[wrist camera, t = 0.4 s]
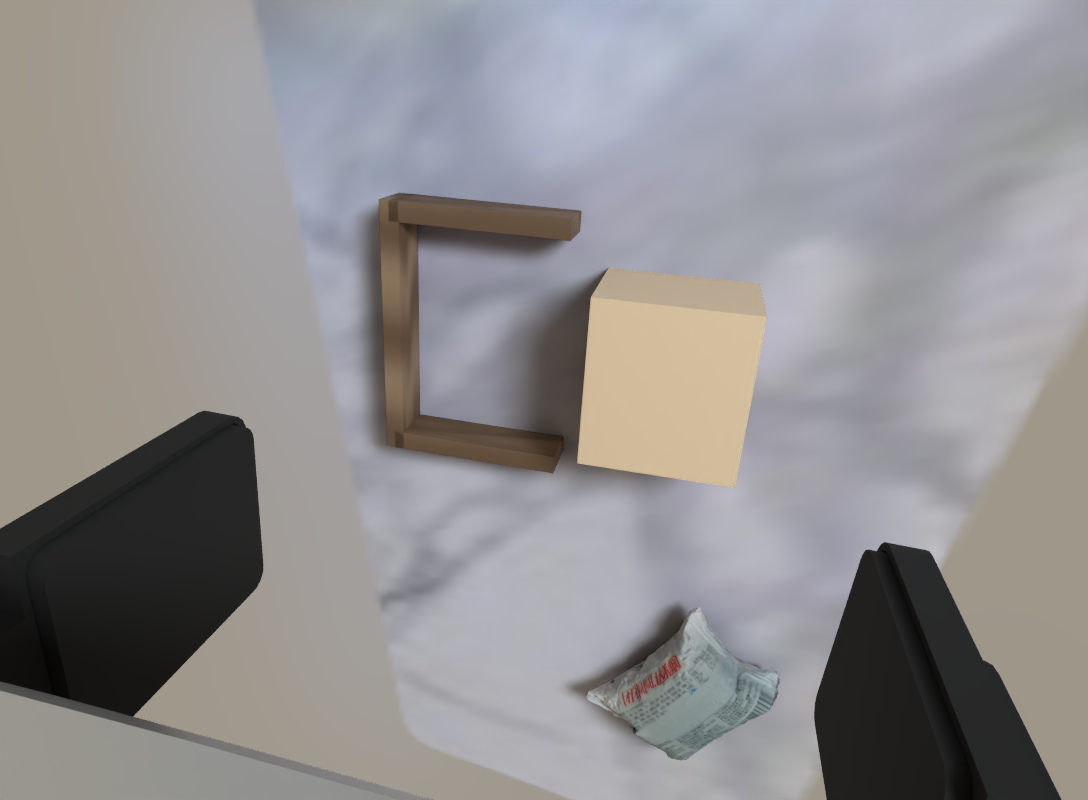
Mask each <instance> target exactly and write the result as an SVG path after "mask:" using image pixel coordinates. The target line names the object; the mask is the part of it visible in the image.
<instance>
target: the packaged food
mask: <svg viewBox="0 0 1088 800" xmlns="http://www.w3.org/2000/svg"><path fill="white" fill-rule="evenodd" d="M779 677H780V675H779V674H778V673H777V671H775V670H773V669H768V670H762V669H758V668H757V667H756V666H753V665H751V664H748V663H746V662H744V661H742V660H740V659H738V658H736V657H734V656H733V655H731V654H730V652H729V651H728V650H726V649H725V648H724V646H723V644H722V642H721V641H720V640H719V638H718V637H717V636H716V634H715V633H714V631H713V630H712V628H711V627H710V626H709V625H708V623H707V620H706V616H704V615H703V612H702V611H701V609H700V608H696V609H694V610H692V611H690V612H689V614H688V615H687V616H686V618H685V621H684V623H683V624H682V626H681V628H680V630H679V631H678V632H677V633H676V634H675V635H673V636H672V637H671V638H670V639H669V640H668V641H667V642H666V643H665V644H664V645H662V646H661V647H659V648H658V649H657V650H656V651H655V652H654V653H652V654H651V655H649V656H648V657H647V659H646V660H644V661H642V662H641V663H639V664H637V665H635V666H634V667H632V668H630V669H628V670H627V671H625V672H624V673H622V674H620V675H619V676H617V677H615V678H613V679H612V680H610V681H608V682H607V683H605V684H603V685H601V686H599V687H598V688H595V689H592V690H590V691H589V692H588V694H587V699H588V700H589V701H590V702H592V703H594V704H597V705H600V706H601V707H603V708H604V709H606V710H609V711H612V712H613V713H614V714H613V715H614V716H616V717H619V718H622V719H624V720H625V721H626V722H628V723H629V724H630V725H631V727H632V729H633V733H634V734H636V735H637V736H639V737H640V738H642V739H643V740H645V741H646V742H649V743H650V744H652V745H654V746H655V747H657V748H659V749H661V750H663V751H664V752H666V754H667V756H668V757H670V758H672V759H677V760H687V759H688V758H689V757H691V756H692V755H693V754H695V753H696V752H697V751H699V750H700V749H702V748H703V747H704V746H706V745H707V744H709V743H710V742H711V741H713V740H714V739H717V738H719V737H721V736H722V735H724V734H725V733H727V732H729V731H730V730H732V729H734V728H736V727H738V726H740V725H742V724H744V723H745V722H747V721H748V720H751V719H753V718H755V717H758V716H760V715H762V714H764V713H766V712H768V711H769V710H770V709H771V707H772V705H773V703H774V701H775V699H776V698H777V694H778V684H780V682H779ZM617 714H618V715H617Z"/></svg>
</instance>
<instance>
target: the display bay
mask: <svg viewBox="0 0 1088 800" xmlns="http://www.w3.org/2000/svg"><path fill="white" fill-rule="evenodd" d="M379 222H380V251H381V281H382V310H383V339H384V368H385V397H386V426H387V446H392V447H398V448H404V449H410V450H416V451H422V452H428V453H434V454H440V455H446V456H452V457H458V458H464V459H470V460H476V461H482V462H488V463H494V464H500V465H506V466H512V467H518V468H524V469H530V470H536V471H543V472H549V473H553V472H554V470H555V467H556V465H557V463H558V460H559V458H560V456H561V453H562V446H563V437H561V436H554V435H548V434H541V433H535V432H529V431H522V430H516V429H510V428H503V427H497V426H490V425H484V424H478V423H471V422H465V421H458V420H452V419H446V418H439V417H433V416H426V415H420V377H419V297H418V224H419V225H429V226H438V227H447V228H457V229H466V230H475V231H485V232H494V233H503V234H513V235H522V236H531V237H541V238H550V239H559V240H569V241H571V240H572V239H573V238H574V237H575V236H576V235H577V234H578V233H579V232H580V223H581V211H577V210H567V209H557V208H547V207H536V206H526V205H516V204H506V203H496V202H486V201H476V200H466V199H456V198H446V197H436V196H426V195H416V194H406V193H397V194H394V195H391V196H388V197H385V198H382V199H379Z"/></svg>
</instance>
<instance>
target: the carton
mask: <svg viewBox="0 0 1088 800" xmlns="http://www.w3.org/2000/svg"><path fill="white" fill-rule="evenodd" d="M766 320H767V314H766V309H765V305H764V300H763V295H762V291H761V286H760V284H758V283H748V282H739V281H729V280H720V279H710V278H701V277H691V276H682V275H672V274H663V273H653V272H644V271H634V270H625V269H615V268H608V270H607V271H606V273H605V275H604V276H603V278H602V280H601V281H600V283H599V285H598V286H597V288H596V290H595V291H594V293H593V294H592V296H591V301H590V313H589V326H588V338H587V350H586V362H585V374H584V386H583V399H582V411H581V423H580V435H579V447H578V459H577V463H578V464H585V465H591V466H598V467H604V468H611V469H617V470H623V471H630V472H636V473H643V474H649V475H656V476H662V477H668V478H675V479H681V480H688V481H694V482H701V483H707V484H714V485H720V486H726V487H733V488H735V484H736V479H737V474H738V468H739V463H740V458H741V453H742V447H743V442H744V437H745V431H746V426H747V421H748V416H749V410H750V405H751V400H752V394H753V389H754V384H755V379H756V373H757V368H758V363H759V357H760V352H761V347H762V341H763V336H764V331H765V326H766Z"/></svg>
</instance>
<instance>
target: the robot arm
mask: <svg viewBox="0 0 1088 800" xmlns="http://www.w3.org/2000/svg"><path fill="white" fill-rule="evenodd" d="M254 452H255V451H254V438H253V434H252V432H251V430H250V429H248V428H246V427H245V424H244V422H243V420H242V419H240V418H239V417H235V416H230V415H225V414H219V413H214V412H209V411H202V412H199V413H197V414H195V415H194V416H192V417H190V418H189V419H187V420H186V421H184V422H182V423H180V424H178V425H177V426H175V427H173V428H172V429H170V430H168V431H166V432H165V433H163V434H161V435H160V436H158V437H156V438H154V439H153V440H151V441H149V442H148V443H146V444H144V445H143V446H141V447H139V448H138V449H136V450H134V451H132V452H131V453H129V454H127V455H125V456H124V457H122V458H120V459H119V460H117V461H115V462H114V463H112V464H110V465H109V466H107V467H105V468H103V469H101V470H100V471H98V472H96V473H95V474H93V475H91V476H90V477H88V478H86V479H85V480H83V481H81V482H79V483H78V484H76V485H74V486H73V487H71V488H69V489H67V490H66V491H64V492H62V493H61V494H59V495H57V496H55V497H54V498H52V499H50V500H49V501H47V502H45V503H43V504H42V505H40V506H38V507H37V508H35V509H33V510H31V511H30V512H28V513H26V514H25V515H23V516H21V517H19V518H18V519H16V520H14V521H13V522H11V523H9V524H8V525H6V526H4V527H3V528H1V529H0V800H431V799H428V798H425V797H421V796H417V795H414V794H410V793H407V792H403V791H400V790H396V789H393V788H389V787H385V786H382V785H378V784H375V783H371V782H367V781H364V780H361V779H357V778H353V777H350V776H346V775H342V774H339V773H335V772H332V771H328V770H324V769H321V768H318V767H314V766H310V765H307V764H303V763H299V762H296V761H292V760H289V759H285V758H281V757H277V756H274V755H270V754H267V753H264V752H259V751H256V750H253V749H249V748H245V747H242V746H238V745H234V744H231V743H227V742H224V741H220V740H216V739H212V738H209V737H205V736H202V735H198V734H194V733H191V732H187V731H183V730H180V729H176V728H172V727H169V726H165V725H161V724H157V723H154V722H150V721H147V720H142V719H139V718H135V717H133V716H134V715H135V714H136V713H137V712H138V711H139V710H140V709H141V708H142V706H144V705H145V703H147V701H148V700H149V699H150V698H151V697H152V696H153V695H154V694H155V693H156V692H157V691H158V690H159V689H160V688H161V687H162V686H163V685H164V684H165V683H166V682H167V680H169V679H170V678H171V677H172V676H173V674H174V673H175V672H176V671H177V670H178V669H179V668H180V667H181V666H182V665H183V664H184V663H185V662H186V661H187V660H188V659H189V658H190V657H191V656H192V655H193V654H194V652H196V651H197V650H198V648H199V647H200V646H201V645H202V644H203V643H204V642H205V641H206V640H207V639H208V638H209V637H210V636H211V635H212V634H213V633H214V632H215V631H216V630H217V629H218V628H219V627H220V626H221V625H222V623H223V622H224V621H225V620H226V619H227V618H228V617H229V616H230V615H231V614H232V613H233V612H234V611H235V610H236V609H237V608H238V607H239V606H240V605H241V604H242V603H243V602H244V601H245V600H246V598H247V597H248V596H249V595H250V594H251V593H252V592H253V591H254V590H255V589H256V588H257V586H258V584H259V582H260V580H261V577H262V573H263V555H262V542H261V529H260V517H259V503H258V491H257V477H256V464H255V453H254ZM814 719H815V727H816V734H817V740H818V746H819V753H820V759H821V765H822V772H823V778H824V784H825V790H826V797H827V800H1061V798H1060V796H1059V794H1058V792H1057V790H1056V788H1055V786H1054V784H1053V782H1052V780H1051V778H1050V776H1049V774H1048V772H1047V770H1046V768H1045V766H1044V764H1043V762H1042V760H1041V758H1040V756H1039V754H1038V752H1037V750H1036V748H1035V746H1034V744H1033V742H1032V740H1031V738H1030V736H1029V734H1028V732H1027V730H1026V727H1025V725H1024V724H1023V721H1022V719H1021V718H1020V715H1019V713H1018V712H1017V710H1016V707H1015V705H1014V703H1013V701H1012V699H1011V697H1010V696H1009V694H1008V691H1007V690H1006V687H1005V685H1004V684H1003V681H1002V679H1001V677H1000V675H999V674H998V672H997V671H996V669H995V668H994V667H993V665H991V664H989V663H988V662H986V661H983V660H982V658H981V656H980V654H979V651H978V649H977V647H976V645H975V643H974V641H973V639H972V637H971V635H970V633H969V631H968V629H967V626H966V624H965V623H964V620H963V618H962V616H961V614H960V612H959V610H958V608H957V606H956V604H955V601H954V599H953V598H952V595H951V593H950V591H949V589H948V587H947V585H946V583H945V581H944V579H943V577H942V575H941V572H940V570H939V568H938V566H937V564H936V562H935V560H934V558H933V556H932V554H931V553H930V552H929V551H926V550H922V549H917V548H912V547H906V546H901V545H896V544H891V543H886V542H884V543H883V544H881V545H880V547H879V548H878V550H877V551H872V550H866V551H865V552H864V553H863V555H862V558H861V560H860V563H859V567H858V570H857V573H856V576H855V579H854V582H853V585H852V588H851V591H850V594H849V597H848V600H847V604H846V607H845V610H844V613H843V616H842V619H841V622H840V625H839V628H838V631H837V634H836V637H835V641H834V644H833V647H832V650H831V653H830V656H829V659H828V662H827V665H826V668H825V671H824V675H823V678H822V681H821V684H820V687H819V690H818V693H817V697H816V702H815V712H814Z"/></svg>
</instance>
